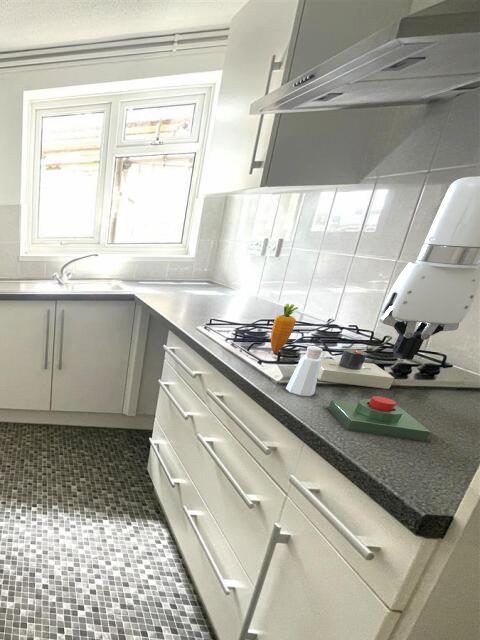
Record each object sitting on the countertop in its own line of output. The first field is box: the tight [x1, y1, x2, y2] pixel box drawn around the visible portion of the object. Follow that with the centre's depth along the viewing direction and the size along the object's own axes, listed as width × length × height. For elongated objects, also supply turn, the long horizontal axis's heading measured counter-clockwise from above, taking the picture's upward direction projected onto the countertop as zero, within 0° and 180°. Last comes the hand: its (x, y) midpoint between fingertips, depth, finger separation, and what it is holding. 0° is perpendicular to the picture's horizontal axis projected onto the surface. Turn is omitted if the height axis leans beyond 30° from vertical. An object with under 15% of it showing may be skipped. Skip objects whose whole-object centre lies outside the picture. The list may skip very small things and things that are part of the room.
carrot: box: [270, 303, 299, 354], centre depth 120 cm, size 5×5×15 cm
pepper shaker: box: [285, 345, 323, 397], centre depth 96 cm, size 5×5×11 cm
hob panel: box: [317, 357, 395, 390], centre depth 106 cm, size 14×10×3 cm
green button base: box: [327, 398, 431, 442], centre depth 84 cm, size 12×10×4 cm
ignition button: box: [369, 395, 397, 411], centre depth 83 cm, size 4×4×2 cm
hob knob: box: [339, 348, 368, 370], centre depth 105 cm, size 4×4×4 cm
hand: (402, 356), depth 79 cm, fingers closed
